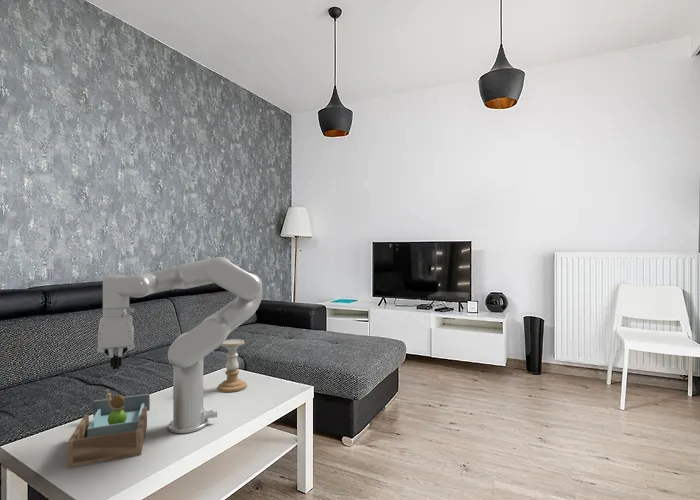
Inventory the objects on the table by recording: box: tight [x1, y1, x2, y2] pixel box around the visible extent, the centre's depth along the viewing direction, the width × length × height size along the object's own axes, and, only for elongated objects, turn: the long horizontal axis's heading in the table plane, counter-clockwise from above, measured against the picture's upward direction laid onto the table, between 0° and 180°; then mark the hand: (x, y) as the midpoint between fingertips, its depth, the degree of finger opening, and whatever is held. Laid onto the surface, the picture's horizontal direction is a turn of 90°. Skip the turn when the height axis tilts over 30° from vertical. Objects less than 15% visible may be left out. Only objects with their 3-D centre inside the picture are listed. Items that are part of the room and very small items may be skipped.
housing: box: [67, 407, 148, 469], centre depth 123 cm, size 20×18×7 cm
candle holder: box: [217, 338, 248, 393], centre depth 175 cm, size 12×12×20 cm
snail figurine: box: [105, 388, 127, 425], centre depth 132 cm, size 5×6×12 cm
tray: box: [87, 393, 151, 438], centre depth 136 cm, size 19×18×6 cm
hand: (116, 368), depth 132 cm, fingers closed
